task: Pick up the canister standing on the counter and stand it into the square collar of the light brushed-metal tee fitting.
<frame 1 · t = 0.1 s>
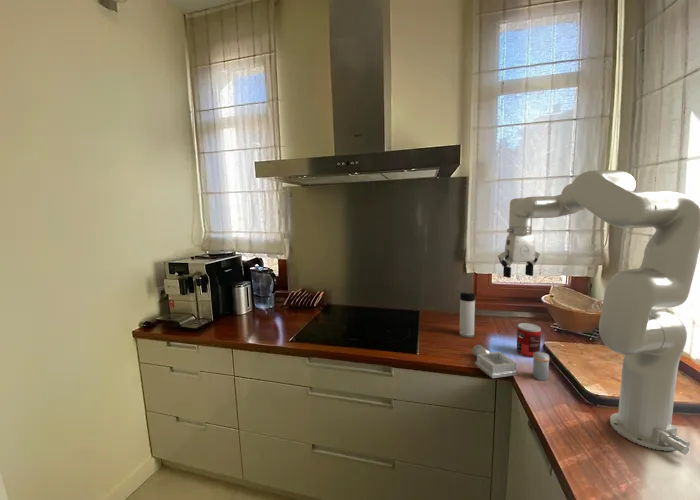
hand: (518, 276, 117), 31 cm above the worktop, fingers open, 9 cm apart
fitting: (495, 369, 110), on the worktop
canned food: (527, 353, 121), on the worktop
travel mug: (466, 335, 140), on the worktop
canister: (540, 377, 104), on the worktop
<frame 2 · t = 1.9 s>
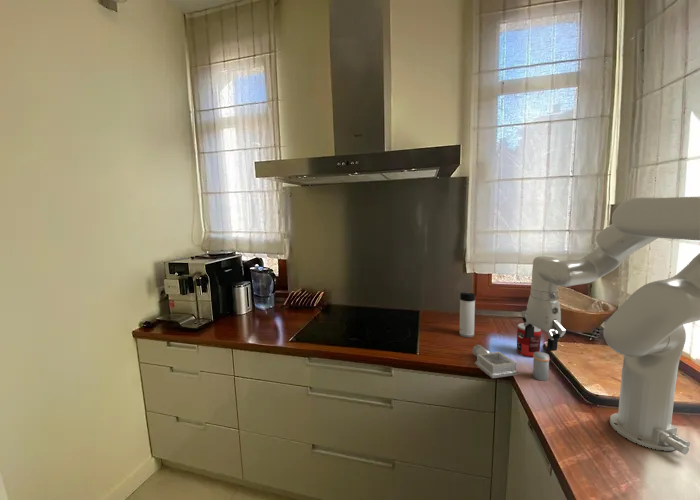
hand: (539, 343, 103), 12 cm above the worktop, fingers open, 9 cm apart
nothing on the worktop moved.
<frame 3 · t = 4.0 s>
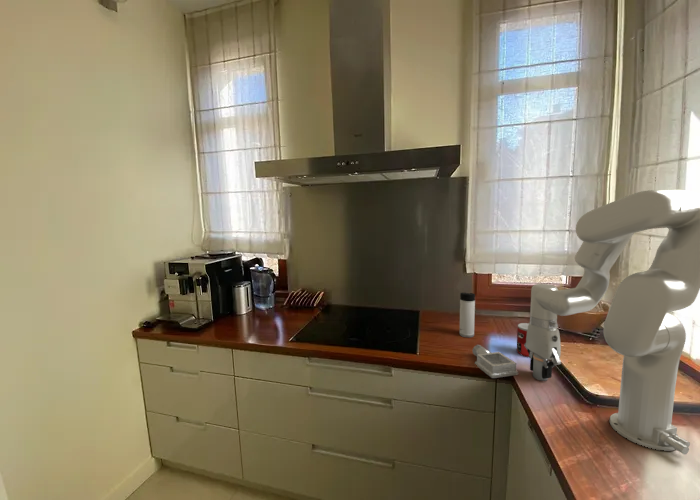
hand: (540, 373, 104), 1 cm above the worktop, fingers closed on canister, 4 cm apart
canister: (540, 377, 104), on the worktop, touching gripper
everything else where it was.
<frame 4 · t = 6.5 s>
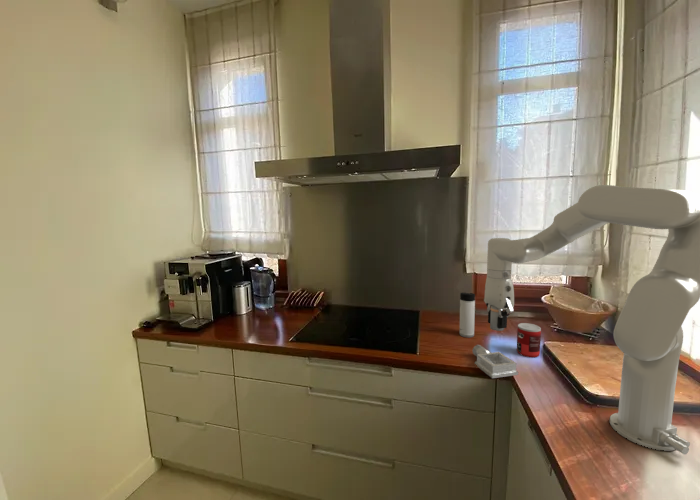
hand: (497, 324, 108), 17 cm above the worktop, fingers closed on canister, 4 cm apart
canister: (497, 328, 108), point 15 cm above the worktop, touching gripper
everything else where it was.
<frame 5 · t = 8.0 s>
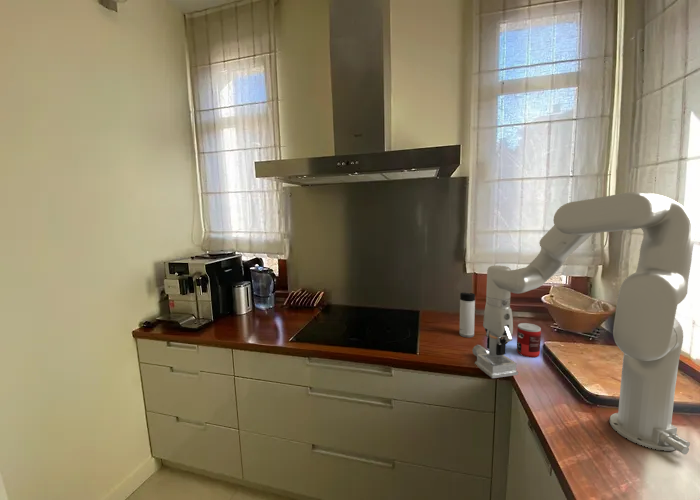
hand: (495, 350, 109), 7 cm above the worktop, fingers closed on canister, 4 cm apart
canister: (495, 354, 109), point 6 cm above the worktop, touching gripper
everything else where it was.
when the fingers open (4 cm above the worktop, at t = 9.3 s): canister drops 2 cm, resting on fitting.
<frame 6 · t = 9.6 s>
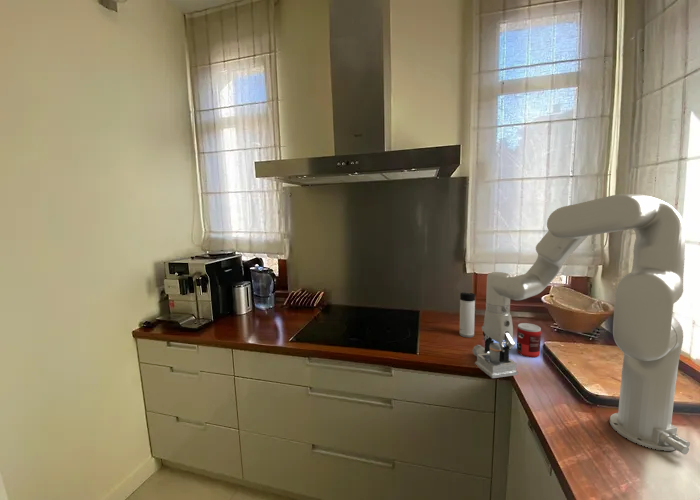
hand: (496, 355, 109), 5 cm above the worktop, fingers open, 7 cm apart
canister: (496, 366, 109), point 1 cm above the worktop, touching fitting
everything else where it was.
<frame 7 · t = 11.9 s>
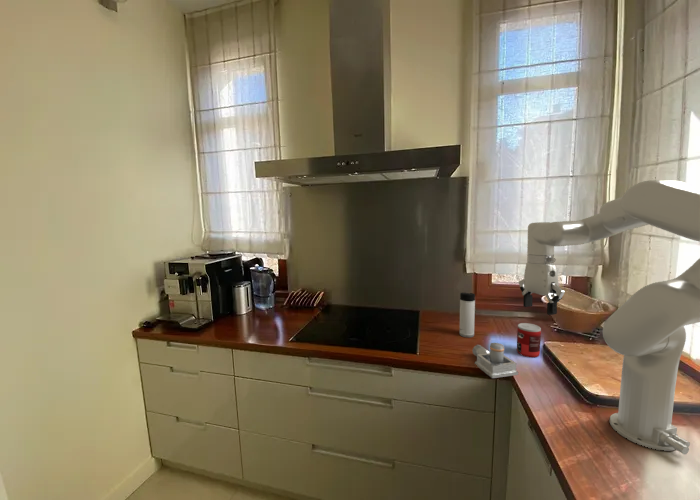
hand: (539, 310, 103), 23 cm above the worktop, fingers open, 9 cm apart
nothing on the worktop moved.
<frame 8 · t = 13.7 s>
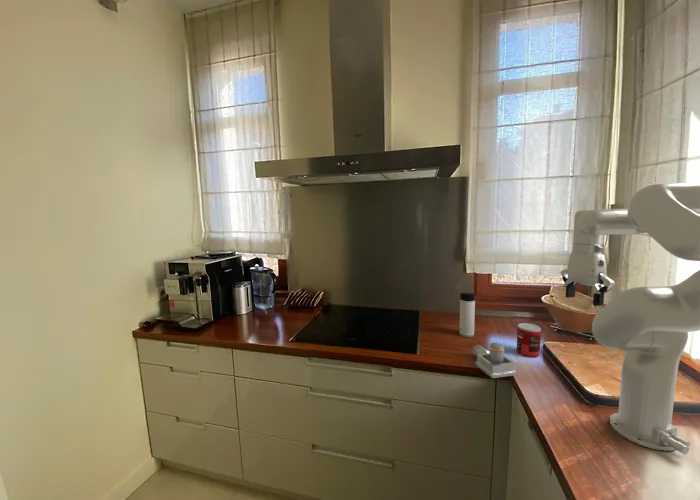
hand: (583, 301, 100), 26 cm above the worktop, fingers open, 9 cm apart
nothing on the worktop moved.
at the end: canister 0.1 cm off-centre on the fitting, point 1.0 cm above the fitting's base; canister tilted 1°; the gripper is holding nothing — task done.
